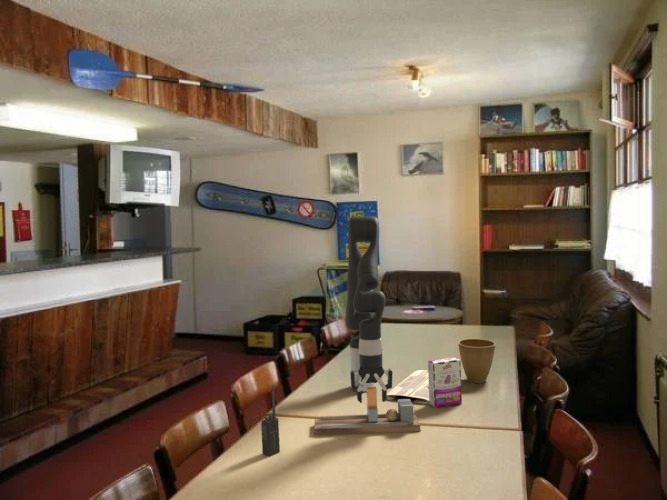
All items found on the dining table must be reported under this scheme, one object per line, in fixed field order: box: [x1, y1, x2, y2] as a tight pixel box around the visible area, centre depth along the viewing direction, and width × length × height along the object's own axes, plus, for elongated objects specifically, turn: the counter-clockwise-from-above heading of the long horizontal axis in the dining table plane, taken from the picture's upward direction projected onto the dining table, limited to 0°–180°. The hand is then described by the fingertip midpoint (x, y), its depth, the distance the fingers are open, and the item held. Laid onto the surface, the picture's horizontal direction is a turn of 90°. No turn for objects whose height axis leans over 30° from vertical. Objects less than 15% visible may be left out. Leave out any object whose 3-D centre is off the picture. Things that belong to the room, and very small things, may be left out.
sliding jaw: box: [366, 385, 379, 423], centre depth 189 cm, size 7×3×11 cm, turn 2°
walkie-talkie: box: [260, 385, 281, 457], centre depth 171 cm, size 5×3×20 cm
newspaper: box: [386, 369, 429, 405], centre depth 231 cm, size 37×19×3 cm, turn 154°
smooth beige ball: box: [385, 408, 398, 421], centre depth 189 cm, size 4×4×4 cm
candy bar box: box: [427, 357, 463, 408], centre depth 210 cm, size 11×5×16 cm, turn 107°
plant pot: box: [457, 338, 496, 384], centre depth 238 cm, size 15×15×16 cm
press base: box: [314, 398, 421, 436], centre depth 189 cm, size 9×34×8 cm, turn 92°
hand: (371, 401), depth 189 cm, fingers open, 7 cm apart
